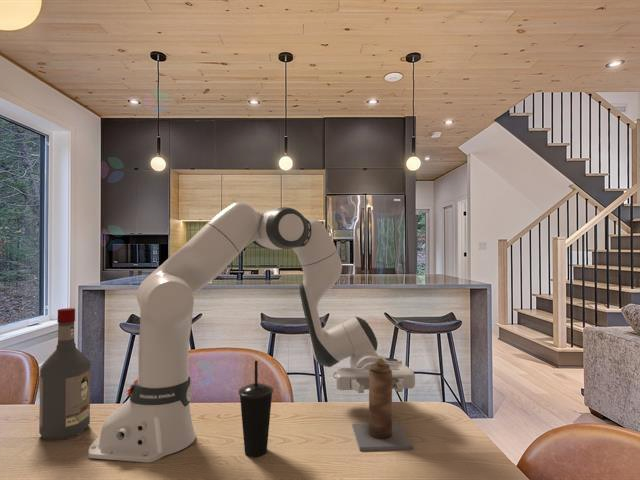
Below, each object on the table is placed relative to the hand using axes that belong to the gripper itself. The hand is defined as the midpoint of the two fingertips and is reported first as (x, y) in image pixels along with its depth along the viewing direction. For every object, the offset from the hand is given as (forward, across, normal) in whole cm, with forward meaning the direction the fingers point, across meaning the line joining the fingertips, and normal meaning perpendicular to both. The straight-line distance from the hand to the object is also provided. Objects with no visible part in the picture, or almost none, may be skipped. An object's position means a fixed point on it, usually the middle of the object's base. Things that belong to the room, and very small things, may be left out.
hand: (380, 389), depth 97 cm
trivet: (+1, 0, +11) cm, 11 cm away
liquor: (-7, -77, +11) cm, 78 cm away
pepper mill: (+1, 0, +10) cm, 10 cm away
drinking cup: (+6, -29, +11) cm, 32 cm away
